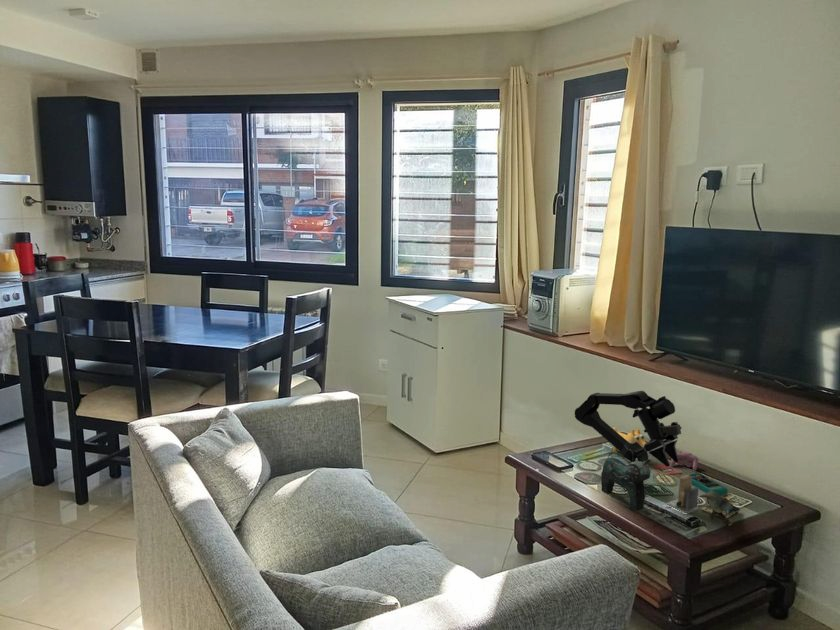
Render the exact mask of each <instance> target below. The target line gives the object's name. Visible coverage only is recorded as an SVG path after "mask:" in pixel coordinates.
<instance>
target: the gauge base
mask: <svg viewBox="0 0 840 630" xmlns="http://www.w3.org/2000/svg"><path fill="white" fill-rule="evenodd" d="M699 490H700V489H699V488H698V487H695V486H693V487H691V489H689V490H687V495H686V505H685V506H681V505H680V506H676V502H678V498H677V499H674V500H670V501H668V502H666V505H669V506H671V507H673V508H675V509H677V510H679V511H681V512H684V513H688V514H690V513H693V512H696V511H698V509H699V506H698V501H699Z"/></svg>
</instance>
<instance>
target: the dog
mask: <svg viewBox="0 0 840 630" xmlns="http://www.w3.org/2000/svg"><path fill="white" fill-rule="evenodd" d="M612 428H613V429H614V430H615V431H616V432H617V433H618V434H620V435H621V436H622V437H623V438H624V439H625V440H627V441H628V442H629V443H635V442H638V443H639V444H640V445H641V446H642V447H643V448H644V445H645V444H646V443H647V442H646V437H645V435H643V434H642V433H641V431H640V428H636V430H635V431H634V429H631V430H630V431H629V432H628V433H627V434H625V433H623V432H621V431H617V428H616V427H615V426H614V427H612ZM611 447H612V452H617V453H618V449H617V448H615V447H614V446H613V445H612V444H611Z"/></svg>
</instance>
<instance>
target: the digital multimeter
mask: <svg viewBox="0 0 840 630" xmlns="http://www.w3.org/2000/svg"><path fill="white" fill-rule="evenodd" d="M688 475H689V476H692V486H693V487H698V488H699V489H698V490H701V491H702V492H703V493H705V494H706V493H708V492H710V491H713V492H716V493H717V494H719V495H720V496H723V495H727V494H728V488H727V487H726V486H724V485H723V484H720V483H718V482H717V481H715V480H713V479H711V478H709V477H708V476H706V475H704V474H702V473H700V472H696V473H690V474H688Z"/></svg>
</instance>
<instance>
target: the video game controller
mask: <svg viewBox="0 0 840 630" xmlns="http://www.w3.org/2000/svg"><path fill="white" fill-rule="evenodd" d="M676 452H677V457H678V462H675V461H674V460H673V459H672V458H671V460H670V467H674V466H675V465H676V463H677V464H678V465H679V466H680V467H681V466H683V465H684V460H685V461H686V462H685V466H686V467H687V468H692V470H693V472H696V471H697V469H698V464H699V458H698V457H697V456H696V455H695V454H693V453H691V452H687V451H676Z"/></svg>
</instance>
